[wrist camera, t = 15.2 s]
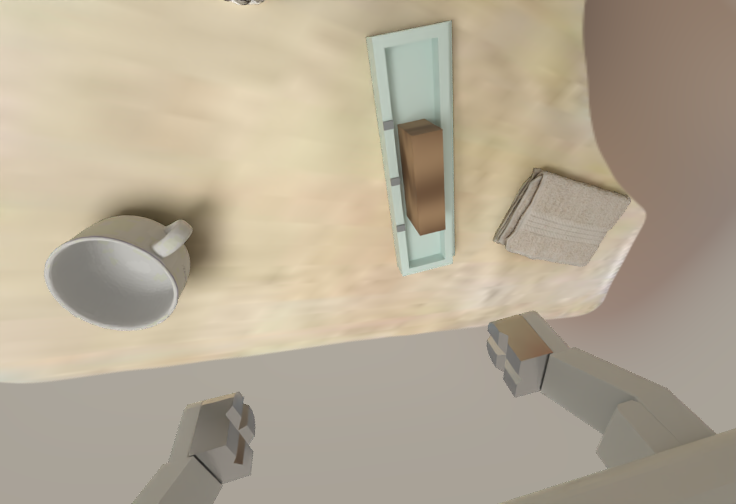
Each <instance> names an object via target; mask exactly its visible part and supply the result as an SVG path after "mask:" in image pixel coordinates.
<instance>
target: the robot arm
mask: <svg viewBox="0 0 736 504" xmlns="http://www.w3.org/2000/svg"><path fill="white" fill-rule="evenodd" d="M488 332H489V333H490V337H489V338H488V339H487V349H488V353H489V356H490V358H491V360H492V362H493V364H494V365H495V367H496V368H498V369H499V370H501V371H503V372H504V378H503V379H504V381H505V383H506V384H507V386H508V388H509V389H510V391H511V392H512V394H513V395H514V397H518V396H523V395H526V394H530V393H534V392H538V391H541V393H542V394H544V395H545V396H547V397H548V398H550V399H551V400H553V401H554V402H556V403H557V404H559V405H560V406H562V407H563V408H565V409H566V410H568V411H569V412H571V413H572V414H574V415H575V416H577V417H578V418H580V419H581V420H582V421H584V422H585V423H587V424H588V425H590V426H591V427H593V428H594V429H596V430H597V431H599V432H600V433H602V434H603V436H602V438H601V440H600V442H599V444H598V446H597V450H596V454H597V455H598V456H599V458H600V459H601V460H602V462H603V463H604V464H605V466H606V467H607V469H606V470H603V471H599V472H596V473H593V474H590V475H587V476H584V477H581V478H577V479H574V480H571V481H568V482H565V483H562V484H558V485H556V486H552V487H549V488H546V489H543V490H540V491H537V492H533V493H530V494H527V495H524V496H521V497H518V498H514V499H511V500H508V501H505V502H502V503H499V504H736V428H735V429H732V430H729V431H725V432H722V433H719V434H716V433H715V432H714V431H713V430H712V429H711V428H710V427H709V426H707V425H706V424H705V423H704V422H703V421H702V420H701V419H700V418H699V417H697V415H696V414H694V413H693V412H692V411H691V410H690V409H689V408H688V407H687V406H686V405H685V404H683V403H682V402H681V401H680V400H679V399H678V398H677V397H676V396H675V395H673V393H672V392H671V391H670V390H668V389H667V388H665V387H663V386H661V385H659V384H656V383H654V382H652V381H650V380H647V379H645V378H643V377H641V376H638V375H636V374H634V373H632V372H629V371H627V370H625V369H623V368H620V367H618V366H616V365H614V364H612V363H609V362H607V361H605V360H603V359H600V358H598V357H596V356H594V355H592V354H589V353H587V352H585V351H583V350H580V349H578V348H576V347H574V348H570V347H569V346H568V345H567V344H566V343H565V342H564V341H563V340H562V338H561V337H560V336H559V335H557V333H556V332H555V331H554V330H553V329H552V328H551V327H550V325H549V324H548V323H547V322H546V321H545V320H544V319H543V318H542V317H541V316H540V315H539V314H538V313H537V312H536V311H530V312H526V313H523V314H519V315H514V316H511V317H507V318H504V319H500V320H497V321H493V322H490V323H489V325H488ZM243 400H244V397H243V396H242V394H241V393H240V392H236V393H232V394H228V395H224V396H220V397H216V398H212V399H208V400H204V401H200V402H196V403H192V404H189V405H187V406H186V408H185V409H184V411H183V414H182V417H181V421H180V424H179V427H178V431H177V434H176V438H175V441H174V444H173V448H172V451H171V455H170V458H169V461H168V463H166V464H163V465H162V466H161V468H160V469H159V470H158V471H157V473H156V474H155V475H154V476H153V478H152V479H151V480H150V481H149V483H148V484H147V485H146V486H145V488H144V489H143V490H142V491H141V493H140V494H139V495H138V496H137V498H136V499H135V500H134V501H133V503H132V504H213V503H214V501H215V499H216V497H217V496H218V494H219V492H220V490H221V488H222V484H224V483H228V482H231V481H234V480H237V479H240V478H243V477H246V476H249V475H251V469H252V459H253V450H252V449H251V448H250V446H249V444H250V442H251V441H252V439H253V438H254V436H255V419H254V414H253V411H252V409H251V408H250V406H249V405H246V404H243Z"/></svg>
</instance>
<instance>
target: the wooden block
mask: <svg viewBox="0 0 736 504" xmlns="http://www.w3.org/2000/svg"><path fill="white" fill-rule="evenodd" d="M397 128H398V137H399V146H400V156H401V165H402V175H403V184H404V194H405V203H406V213H407V217H408V219H409V220H410V222H411V223H412V225H413V226H414V228H415V229H416V231H417V232H418V234H419V235H420V236H422V235H426V234H430V233H434V232H438V231H442V230H446V225H445V192H444V158H443V129H441V128H440V127H438V126H436V125H434V124H433V123H431V122H429V121H428V120H426V119H421V120H416V121H412V122H407V123H403V124H398V125H397Z"/></svg>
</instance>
